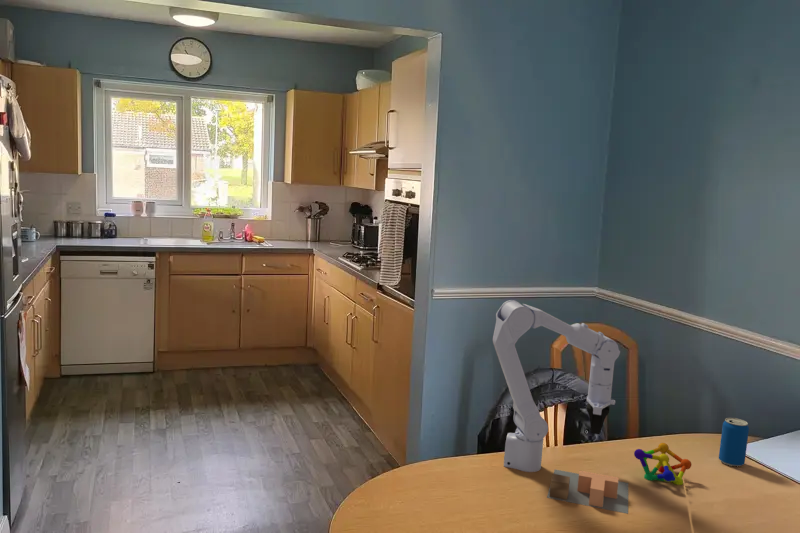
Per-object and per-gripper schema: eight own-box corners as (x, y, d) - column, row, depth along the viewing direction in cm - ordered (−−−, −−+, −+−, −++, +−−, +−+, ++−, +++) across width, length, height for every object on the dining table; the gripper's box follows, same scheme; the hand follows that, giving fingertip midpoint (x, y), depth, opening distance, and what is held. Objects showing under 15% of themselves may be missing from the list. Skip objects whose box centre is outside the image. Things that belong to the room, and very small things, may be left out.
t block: (578, 486, 165) (579, 470, 165) (616, 493, 162) (618, 477, 162) (575, 502, 157) (576, 485, 156) (616, 510, 154) (617, 493, 153)
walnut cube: (549, 496, 159) (550, 480, 158) (551, 489, 162) (552, 473, 162) (566, 500, 157) (568, 483, 157) (568, 492, 161) (569, 476, 161)
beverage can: (720, 456, 192) (725, 415, 190) (746, 462, 188) (751, 421, 187) (716, 463, 187) (721, 421, 185) (741, 470, 183) (747, 427, 181)
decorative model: (705, 469, 172) (672, 466, 163) (688, 498, 174) (655, 496, 165) (664, 439, 182) (632, 434, 173) (649, 467, 184) (616, 463, 175)
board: (546, 501, 158) (546, 497, 158) (554, 473, 174) (554, 469, 174) (627, 517, 153) (628, 513, 152) (628, 486, 169) (628, 483, 168)
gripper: (616, 392, 167) (610, 445, 169) (617, 377, 181) (612, 426, 182) (586, 388, 169) (581, 440, 171) (590, 373, 183) (585, 422, 185)
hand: (595, 433), depth 177 cm, fingers closed
